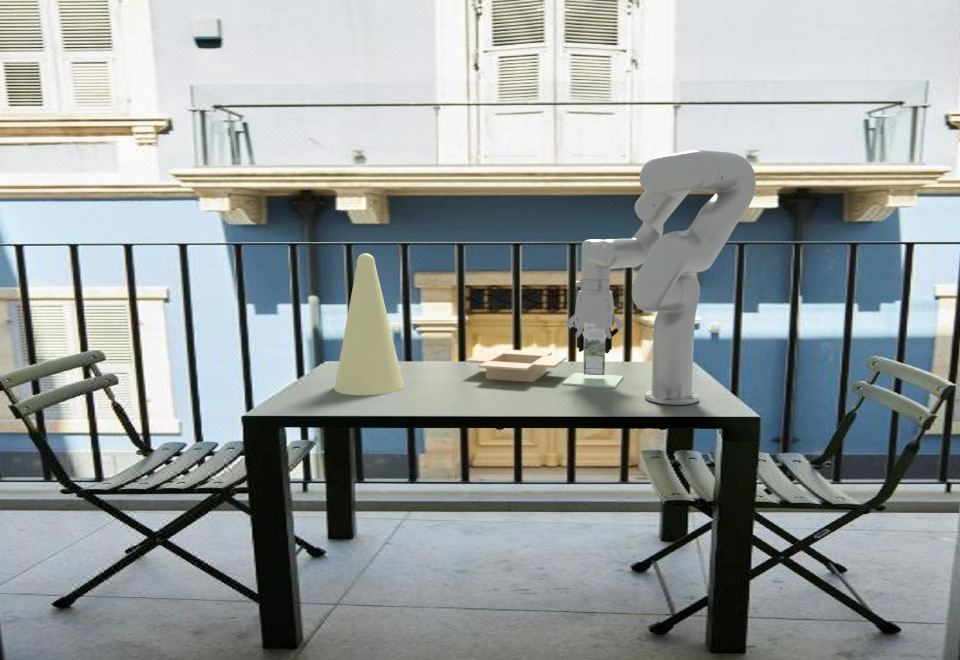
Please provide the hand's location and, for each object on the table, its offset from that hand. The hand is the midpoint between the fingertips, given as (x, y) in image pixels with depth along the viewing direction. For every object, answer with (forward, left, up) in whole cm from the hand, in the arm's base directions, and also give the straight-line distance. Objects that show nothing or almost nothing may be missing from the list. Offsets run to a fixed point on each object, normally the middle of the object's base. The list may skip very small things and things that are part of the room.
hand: (594, 351), depth 191 cm
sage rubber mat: (0, 0, -8) cm, 8 cm away
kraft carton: (0, +22, -8) cm, 24 cm away
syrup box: (0, 0, -6) cm, 6 cm away
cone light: (-24, +56, -9) cm, 62 cm away
